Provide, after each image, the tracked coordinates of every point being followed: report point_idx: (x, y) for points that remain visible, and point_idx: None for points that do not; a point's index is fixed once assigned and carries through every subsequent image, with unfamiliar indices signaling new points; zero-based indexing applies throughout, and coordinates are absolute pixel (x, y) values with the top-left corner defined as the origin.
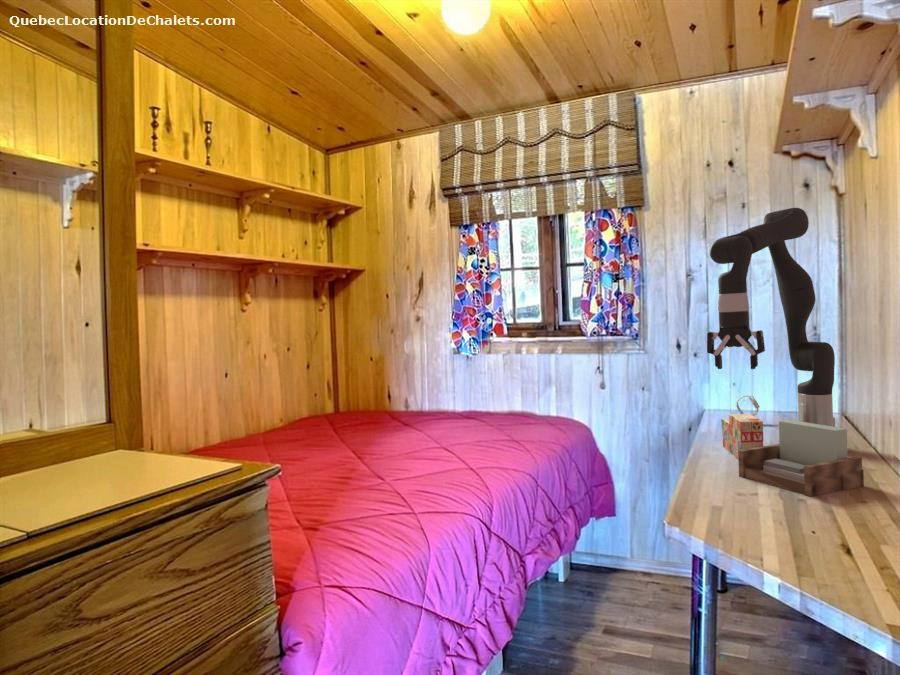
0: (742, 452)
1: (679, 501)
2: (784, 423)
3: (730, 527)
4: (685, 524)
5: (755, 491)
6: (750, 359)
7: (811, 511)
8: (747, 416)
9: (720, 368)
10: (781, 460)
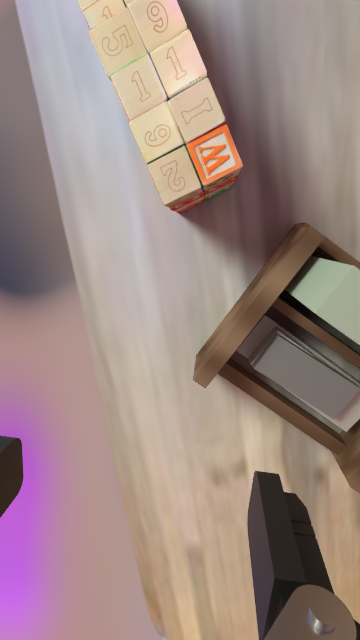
0: (204, 385)
1: (135, 544)
2: (333, 326)
3: (228, 623)
4: (171, 628)
5: (241, 452)
6: (256, 603)
7: (335, 528)
8: (171, 66)
9: (20, 478)
10: (293, 350)
